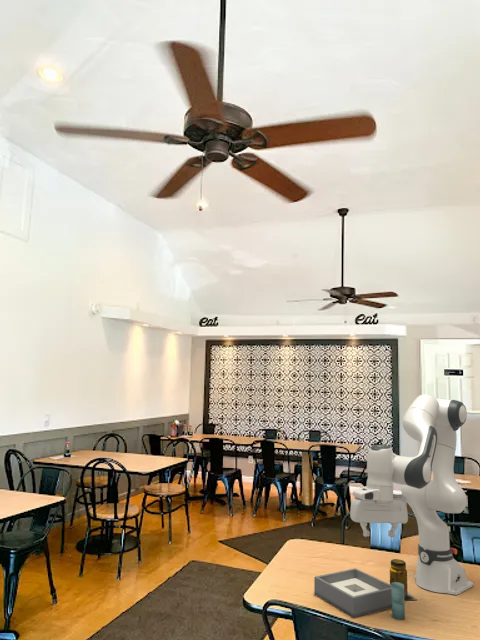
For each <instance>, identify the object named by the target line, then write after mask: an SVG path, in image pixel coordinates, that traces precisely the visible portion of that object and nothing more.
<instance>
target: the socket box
mask: <svg viewBox="0 0 480 640" xmlns="http://www.w3.org/2000/svg"><path fill="white" fill-rule="evenodd" d="M313 587H314V592H313V593H314V596H316V597H318V598H319V599H321V600H322V601H324V602H326V603H328V604H329V605H331V606H333V607H334V608H336V609H338V610H339V611H340V612H343V613H344V614H346V615H348V616H349V617H351V618H353V619H355V618H359V617H362V616H366V615H370V614H373V613H378V612H380V611H385V610H388V609H392V593H391V585H390V583H388V582H385V581H383V580H381V579H379V578H377V577H375V576H373V575H371V574H368V573H366V572H364V571H362V570H360V569H358V568H356V567H354V568H349V569H346V570H340V571H336V572H332V573H331V572H330V573H325V574H322V575H321V574H320V575H317V576H314V585H313Z"/></svg>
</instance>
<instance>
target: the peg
mask: <svg viewBox="0 0 480 640" xmlns="http://www.w3.org/2000/svg"><path fill="white" fill-rule="evenodd" d="M391 593H392V608H391V617H392V619H394V620H397V621H404V620H405V619H406V617H405V613H406V612H405V610H406V609H405V600H404V585H403V584H402V583H399V582H392V583H391Z"/></svg>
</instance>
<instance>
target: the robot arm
mask: <svg viewBox="0 0 480 640" xmlns="http://www.w3.org/2000/svg"><path fill="white" fill-rule="evenodd" d="M467 414H468V413H467V407H466V405H464V403H463V401H459V400H456V399H452V400H451V399H446V398H439V397H438V398H436V397H434V396H432V395H430V394H427V393H426V394H424V393H423V394H420V395H418V396H417V397H416V398H415V399H414V400H413V401H412V402H411V404H410V405H409V406H408V408H407V410H406V411H405V413H404V416H403V418H402V428H403V430H404V431H405V433H406V434H407V435H408V436H409V437H410V438H411V439H413V440H415V441H417V442H419V443H420V446H419V450H418V454H417V455H415V456H405V455H404V456H403V455H398V454H396V453H395V452H393V449H392V446H390V445H387V444H373V445H371V446H370V447H369V449H368V452H367V462H366V471H367V479H366V485H365V486H363V487H360V488H356V489H354V490H353V491H352V497H353V498H352V500H351V502H350V503H351V504H350V511H349V515H350V519H351V520H352V522H355V523H359V524H360V527H361V528H362V532H363V534H362V535H363V537H365V538H369V537H370V535H371V534H370V533H371V532H370V530H368V529H367V526H368V523H369V524H390V525H391V527H390V529H389V530H387V533H388V534H387V536H388V537H390V538H395V537H396V531H397V529H398V528H399V524H407V523H408V521H409V515H408V514H409V513H408V507H407V505H409V507H410V509H411V510H412V511H413V513H414V516H415V519H416V522H417V529H418V545H417V554H418V556H417V560H416V572H415V574H414V580H415V584H416V585H417V586H418V587H420V588H421V589H424V590H427V591H430V592H434V593H441V594H442V593H443V594H449V595H455V596H456V595H457V596H458V595H460V594H461V593H463V592H465V591H467V590H469V589H470V588H472V587H473V586H474V583H473V582H472V581H471V580H469V579H467V574H466V570H465V567H464V566H463V565H462V564H460V562H459V561H457V560H456V559H455V558H454V555H457V554H458V549H456V548H454V547H450V545H451V544H450V529H449V526H448V525H447V523H446V522H445V521H444V520H442V519H441V518H440V516H439V515H438V513H437V512H440V513H445V514H461V513H462V512H463V511H464V510H465V509H466V506H467V503H468V502H467V501H468V500H467V499H468V498H467V495H466V492H465V491H464V489H463V488H462V487H461V486H460V485H459V484H458V482H457V478H456V477H455V472H454V465H455V458H456V457H455V456H456V450H457V436H458V435H457V431H458V430H459V429H460V428H462V427H463V425H464V424H465V423H466V420H467ZM432 475H433V479H432ZM431 479H432V480H431ZM394 483H395V484H398V485H401V489H400V491H401V494H400V493H399V494H396V493H394ZM453 554H454V555H453Z"/></svg>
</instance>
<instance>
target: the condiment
mask: <svg viewBox="0 0 480 640" xmlns="http://www.w3.org/2000/svg"><path fill="white" fill-rule="evenodd" d="M406 565H407V563H406V561H405V560H402V559H398V558H393V559H391V560H390V567H389V584H390V585H391V583H392V582H399V583H402V584H403V585H404V601H417V600H418V599H417V598H416V597H414V596H413V594H411V593H410V591H408V570H407V567H406Z"/></svg>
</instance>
